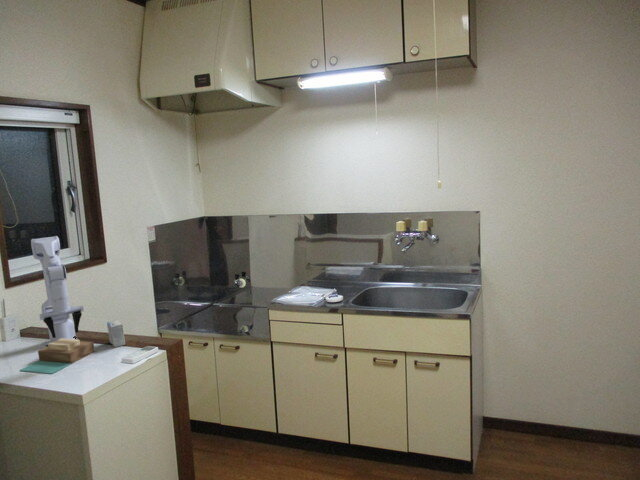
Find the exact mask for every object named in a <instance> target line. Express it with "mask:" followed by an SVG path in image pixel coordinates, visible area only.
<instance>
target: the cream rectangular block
mask: <svg viewBox="0 0 640 480" xmlns="http://www.w3.org/2000/svg"><path fill="white" fill-rule="evenodd" d="M80 341H81V340H80V339H78V338H76V339H63V338H61V339H58V340H56V341H54V342H52V343H50V344H49V345H48V346H49V349H55V350H68V351H69V350H71V349H73V348H75V347H77V346H79V345H80Z"/></svg>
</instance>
